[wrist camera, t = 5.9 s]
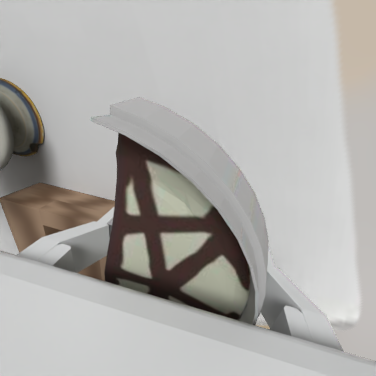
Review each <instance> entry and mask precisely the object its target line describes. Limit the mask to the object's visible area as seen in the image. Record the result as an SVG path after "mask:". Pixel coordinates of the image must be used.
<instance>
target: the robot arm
mask: <svg viewBox="0 0 376 376" xmlns="http://www.w3.org/2000/svg"><path fill="white" fill-rule="evenodd" d="M113 215H114V207H113V208H112V209H111V210H110V211H109V212H107V213H106V214H105V215H104V216H103V217H102V218H101V219H99V220H98V221H97V222H95V221H93V222H90V223H87V224H83V225H80V226H77V227H74V228H70V229H67V230H64V231H61V232H57V233H54V234H51V235H48V236H44V237H42V238H40V239H39V240H37V241H36V242H35V243H33V244H32V245H30V246H29V247H27V248H26V249H24V250H23V251H22V252H20V253H19V254H17V255H14V254H10V253H7V252H4V251H0V376H376V361H374V360H371V359H367V358H364V357H360V356H357V355H354V354H350V353H347V352H344V351H343V349H342V347H341V345H340V343H339V341H338V339H337V337H336V334H335V333H334V330H333V328H332V326H331V324H330V322H329V320H328V318H327V316H326V315H325V314H324V313H323V312H322V311H321V310H320V309H319V308H318V307H317V306H316V305H315V304H314V303H313V302H312V301H311V300H310V299H309V298H308V297H307V296H306V295H305V294H304V293H303V292H302V291H301V290H300V289H299V288H298V287H297V286H296V285H295V284H294V283H293V282H292V281H291V280H290V279H289V278H288V277H287V276H286V275H285V274H284V273H283V272H282V271H281V270H280V269H279V268H276V266H275V263H274V260H273V257H272V254H271V251H270V248H269V245H268V266H267V280H266V294H265V299H264V302H263V305H262V309H261V313H262V315H263V317H264V318H265V320H266V322H267V324H268V325H269V327H270V330H269V329H265V328H262V327H259V326H255V325H252V324H248V323H245V322H242V321H238V320H235V319H231V318H228V317H225V316H221V315H218V314H214V313H211V312H208V311H204V310H201V309H197V308H194V307H191V306H187V305H184V304H180V303H177V302H174V301H170V300H167V299H163V298H160V297H157V296H153V295H150V294H146V293H143V292H140V291H136V290H133V289H129V288H126V287H123V286H119V285H116V284H112V283H109V282H106V281H102V280H99V279H95V278H92V277H89V276H85V275H82V274H78V272H79V271H81V270H83V269H85V268H86V267H88V266H90V265H91V264H93V263H95V262H97V261H98V260H100V259H102V258H103V257H105V256H107V251H108V245H109V240H110V234H111V229H112V222H113Z"/></svg>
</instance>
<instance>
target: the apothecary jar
mask: <svg viewBox="0 0 376 376" xmlns="http://www.w3.org/2000/svg"><path fill="white" fill-rule="evenodd" d="M43 139H44V129H43V124H42V121H41V118H40V115H39V113H38V111H37V109H36V107H35V105H34V104H33V102H32V101H31V99H30V98H29V97H28V96H27V95H26V94H25V92H23V91H22V90H21V89H20V88H19V87H18V86H16V85H15V84H13V83H11V82H10V81H7V80H5V79H2V78H0V170H1V169H3V168H4V167H5V166H6V165H7V164H8V162H9V161H10V159H11V157H12V154H16V155H20V156H30V155H33V154H35V153H37V150H38V145H39V144H42V143H43Z"/></svg>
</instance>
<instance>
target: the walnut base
mask: <svg viewBox="0 0 376 376" xmlns="http://www.w3.org/2000/svg"><path fill="white" fill-rule="evenodd" d="M0 203H1V205H2V208H3V210H4V213H5V216H6V218H7V221H8V224H9V226H10V229H11V232H12V234H13V237H14V240H15V242H16V245H17V248H18V250H19V253H20V252H22V251H23V250H24V249H26V248H27V247H29V246H30V245H32V244H33V243H35V242H36V241H37V240H39V239H40V238H42V237H44V236H48V235H51V234H54V233H57V232H61V231H64V230H67V229H70V228H74V227H77V226H80V225H83V224H87V223H90V222H93V221H95V222H97V221H98V220H99V219H101V218H102V217H103V216H104V215H105V214H106V213H107V212H109V211H110V210H111V209H112V208H113V207H114V206H115V201H112V200H108V199H104V198H100V197H96V196H92V195H88V194H84V193H80V192H76V191H72V190H68V189H64V188H60V187H56V186H52V185H48V184H44V183H37V184H35V185H32V186H30V187H27V188H24V189H22V190H19V191H16V192H14V193H11V194H9V195H6V196H3V197H1V198H0ZM106 258H107V256H105V257H103V258H102V259H100V260H98V261H97V262H95V263H93V264H91V265H90V266H88V267H86V268H85V269H83V270H81V271H79V272H78V274H82V275H85V276H89V277H92V278H95V279H99V280H102V281H105V275H104V272H105V265H106Z"/></svg>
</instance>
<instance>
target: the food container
mask: <svg viewBox="0 0 376 376" xmlns="http://www.w3.org/2000/svg"><path fill="white" fill-rule="evenodd" d="M91 121H92V122H94V123H97V124H99V125H102V126H104V127H106V128H109V129H111V130H113V131H116V132H118V133H119V135H118V145H117V150H116V158H117V184H116V195H115V206H114V215H113V222H112V229H111V234H110V240H109V245H108V251H107V258H106V265H105V272H104V275H105V281H106V282H109V283H112V284H116V285H119V286H123V287H126V288H129V289H133V290H136V291H140V292H143V293H146V294H150V295H153V296H157V297H160V298H163V299H167V300H170V301H174V302H177V303H180V304H184V305H187V306H191V307H194V308H197V309H201V310H204V311H208V312H211V313H214V314H218V315H221V316H225V317H228V318H231V319H235V320H238V321H242V322H245V323H248V324H252V325H255V324H256V321H257V318H258V316H259V315H260V312H261V309H262V305H263V302H264V299H265V294H266V280H267V266H268V235H267V230H266V224H265V218H264V215H263V213H262V210H261V208H260V205H259V203H258V200H257V197H256V195H255V193H254V191H253V189H252V188H251V186H250V184H249V183H248V181H247V179H246V178H245V176H244V175H243V173H242V171H241V170H240V168H239V167H238V166H237V165H236V163H235V162H234V161H233V160H232V159H231V158H230V157H229V155H228V154H227V153H226V152H225V151H224V150H223V149H222V147H221V146H220V145H219V144H218V143H217V142H215V141H214V140H213V139H212V138H211V137H209V136H208V135H207V134H206V133H205V132H203V131H202V130H201V129H200V128H199V127H197V126H196V125H195V124H194V123H192V122H190V121H188V120H187V119H185V118H183V117H182V116H180V115H178V114H177V113H175V112H173V111H171V110H170V109H168V108H166V107H164V106H162V105H159V104H156V103H154V102H151V101H149V100H146V99H144V98H141V97H137V98H134V99H130V100H127V101H123V102H119V103H116V104H112V105H110V115H105V116H96V117H91Z"/></svg>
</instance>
